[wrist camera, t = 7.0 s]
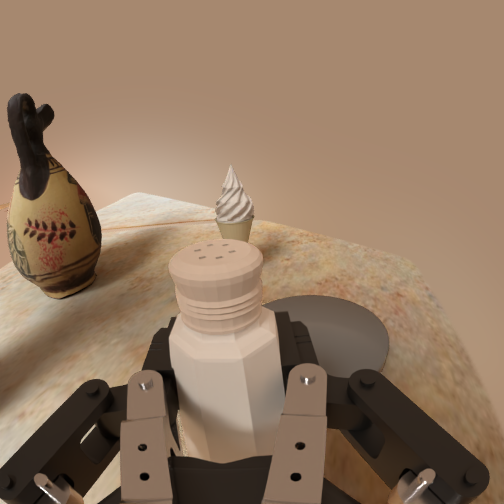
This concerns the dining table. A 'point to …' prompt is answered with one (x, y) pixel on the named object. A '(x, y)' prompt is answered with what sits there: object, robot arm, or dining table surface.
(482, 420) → the dining table surface
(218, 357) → the pepper shaker
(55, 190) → the ceramic jug
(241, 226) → the ice cream cone
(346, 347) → the grey round coaster
